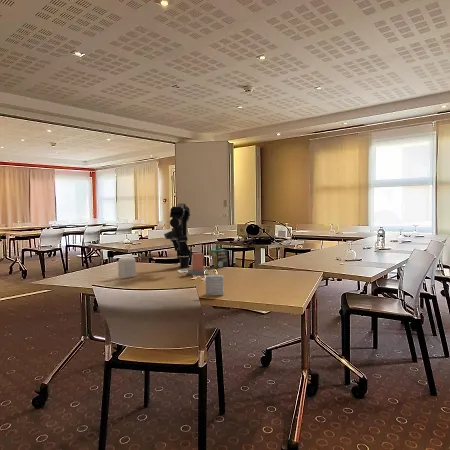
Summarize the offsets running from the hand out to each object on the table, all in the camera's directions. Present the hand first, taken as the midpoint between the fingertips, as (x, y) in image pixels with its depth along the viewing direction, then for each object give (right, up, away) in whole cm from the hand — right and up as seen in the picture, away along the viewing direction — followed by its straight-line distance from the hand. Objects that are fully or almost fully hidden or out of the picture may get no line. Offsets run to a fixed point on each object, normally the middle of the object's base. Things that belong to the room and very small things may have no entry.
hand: (178, 251), depth 239 cm
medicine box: (+24, -16, -63) cm, 70 cm away
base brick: (+13, -13, -7) cm, 19 cm away
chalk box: (+25, -12, +19) cm, 33 cm away
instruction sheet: (+6, -13, +5) cm, 15 cm away
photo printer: (-28, -15, -13) cm, 35 cm away
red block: (+13, -11, -7) cm, 18 cm away
